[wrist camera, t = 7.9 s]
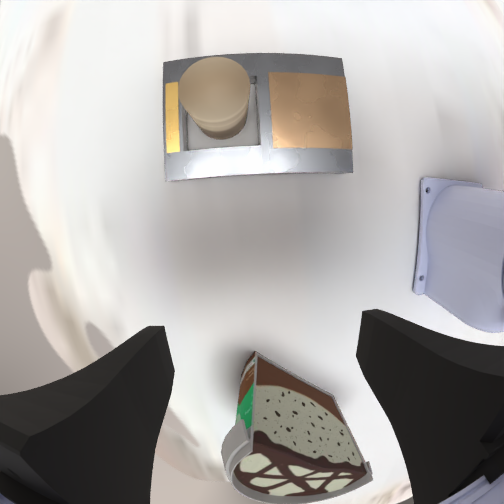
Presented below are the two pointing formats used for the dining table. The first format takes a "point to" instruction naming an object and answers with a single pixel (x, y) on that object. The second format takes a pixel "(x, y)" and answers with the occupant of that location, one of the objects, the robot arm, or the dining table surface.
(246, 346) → the dining table surface
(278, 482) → the food container
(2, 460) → the robot arm
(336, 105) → the plate
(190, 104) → the peg
